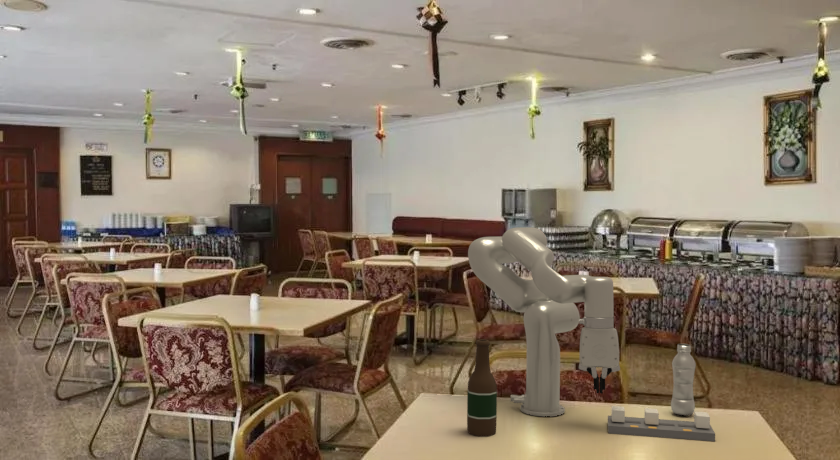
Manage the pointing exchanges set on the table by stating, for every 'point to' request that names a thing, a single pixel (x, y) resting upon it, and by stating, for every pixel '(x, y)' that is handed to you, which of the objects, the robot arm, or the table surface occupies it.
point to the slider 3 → (702, 420)
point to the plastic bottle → (683, 381)
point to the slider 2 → (651, 416)
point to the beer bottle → (482, 395)
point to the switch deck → (661, 429)
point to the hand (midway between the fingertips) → (599, 392)
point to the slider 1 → (618, 414)
